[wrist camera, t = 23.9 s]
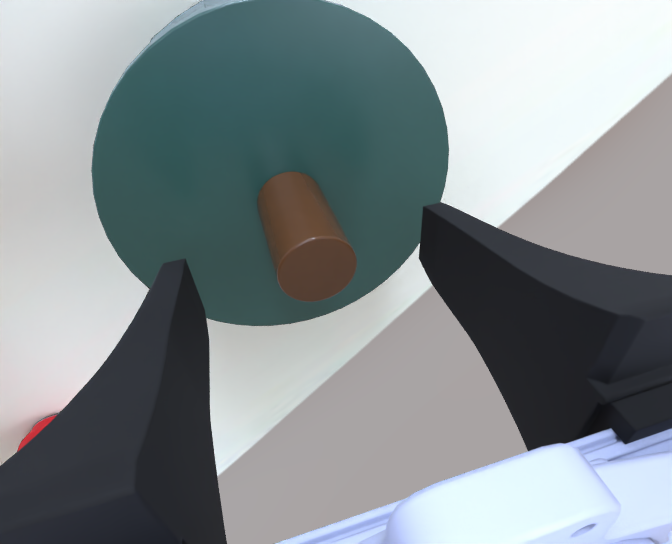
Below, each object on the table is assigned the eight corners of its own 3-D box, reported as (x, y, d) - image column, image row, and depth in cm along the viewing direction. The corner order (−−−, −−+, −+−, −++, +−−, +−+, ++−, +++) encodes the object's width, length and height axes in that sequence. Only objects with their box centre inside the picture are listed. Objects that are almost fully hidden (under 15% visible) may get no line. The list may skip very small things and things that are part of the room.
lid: (12, 19, 11) (-77, 74, 7) (453, -32, 13) (569, -12, 9) (167, 338, 19) (165, 444, 15) (424, 273, 21) (480, 353, 18)
